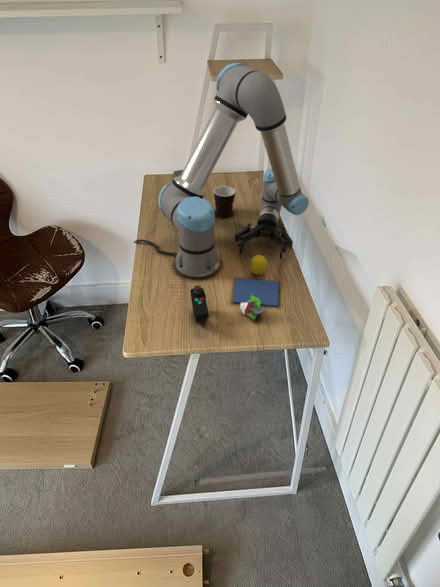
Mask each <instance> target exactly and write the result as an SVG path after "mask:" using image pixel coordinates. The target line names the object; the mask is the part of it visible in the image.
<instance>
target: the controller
mask: <svg viewBox="0 0 440 587" xmlns="http://www.w3.org/2000/svg"><path fill="white" fill-rule="evenodd" d="M190 298H191V306H192V314H193V318H194V322H195V323H197V324H203V323H205V322H207V319H209V318H210V315H209V309H208V308H209V307H208V304H207V295H206V292H205V289H204V288H203V287H202V286H201V285H195V286H194V287H193V288H191V289H190Z"/></svg>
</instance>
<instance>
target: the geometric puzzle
mask: <svg viewBox="0 0 440 587" xmlns="http://www.w3.org/2000/svg"><path fill="white" fill-rule="evenodd" d="M261 302H262V299H258V298H257V297H255V296H253V295H252V294H251V295H250V298H249V301H246V302H242V303H240V304H239V305H240V311H241V312H242V314H243V316H247V317H248V318H250V319H253V320H254V321H256V320H257V318H258V317H257V316H258V315H259V314H261V313H262V314H263V313H264V312H265V313H266V309H264V308H262V307H261ZM263 307H265V306H264V305H263ZM262 314H261V315H262ZM261 315H260V316H259V317H261Z"/></svg>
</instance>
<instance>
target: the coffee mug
mask: <svg viewBox="0 0 440 587" xmlns="http://www.w3.org/2000/svg"><path fill="white" fill-rule="evenodd" d="M213 196H214V197H213V200H214V206H215V214H216V216H217V217H219V218H229V217H231V216H232V215H233V208H234V203H235V197H236V189H235V188H233V187H231V186H228V185H227V186H226V185H222V186H221V185H220V186H217V187H215V188H214V189H213Z"/></svg>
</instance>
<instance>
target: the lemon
mask: <svg viewBox="0 0 440 587" xmlns="http://www.w3.org/2000/svg"><path fill="white" fill-rule="evenodd" d="M267 267H268V262H267V259H266V257H265V256H263V255H261V254H256V255H254V256H252V258H251V260H250V262H249V268H250V271H251V273H252V274H254V275H256V276H261V275H263V274H265V272H266V270H267V269H268V268H267Z"/></svg>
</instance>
